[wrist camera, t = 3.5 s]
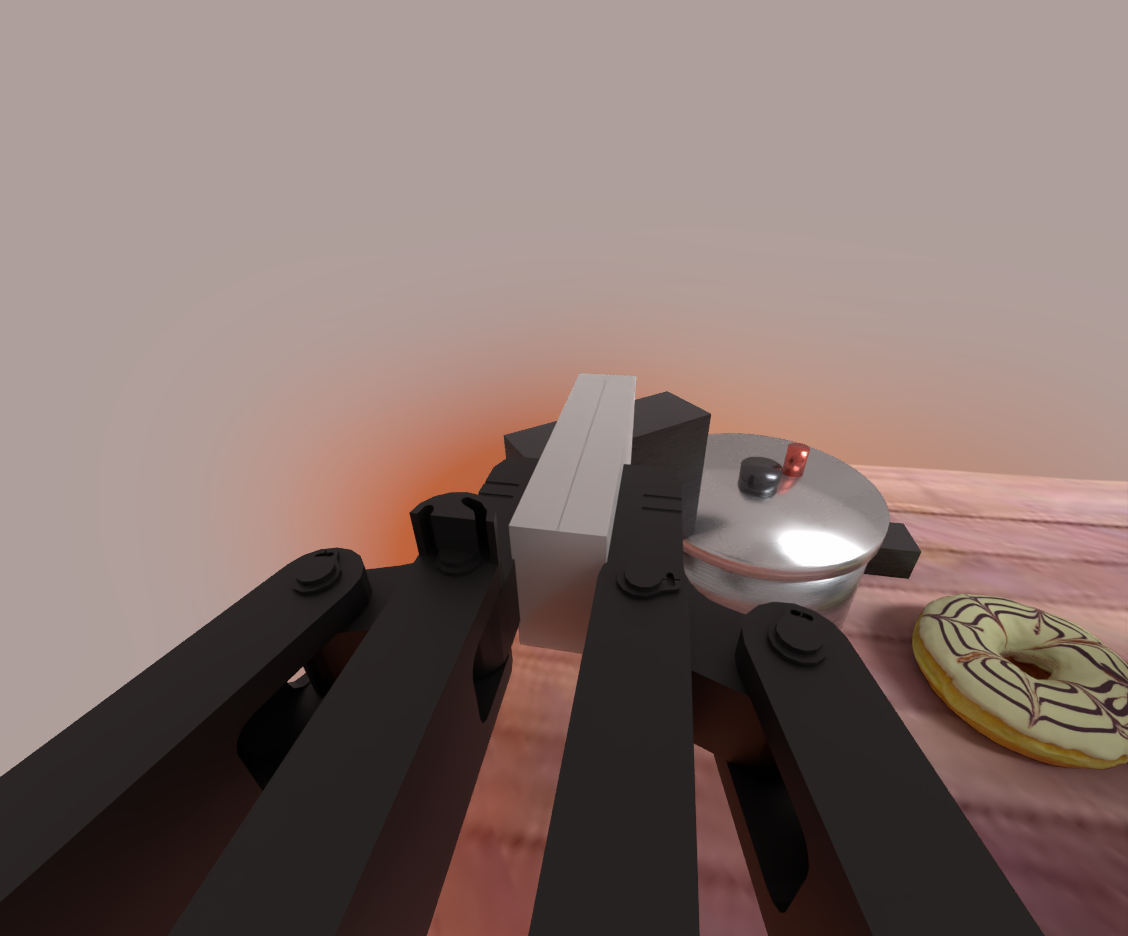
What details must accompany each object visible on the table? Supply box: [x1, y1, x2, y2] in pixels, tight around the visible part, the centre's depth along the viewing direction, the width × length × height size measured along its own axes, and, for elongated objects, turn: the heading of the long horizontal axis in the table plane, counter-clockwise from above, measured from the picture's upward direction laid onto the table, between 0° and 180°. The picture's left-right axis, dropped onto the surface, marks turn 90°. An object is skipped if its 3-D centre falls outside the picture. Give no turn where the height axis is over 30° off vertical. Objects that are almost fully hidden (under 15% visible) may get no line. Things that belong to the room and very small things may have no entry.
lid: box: [504, 392, 890, 582], centre depth 29 cm, size 25×16×9 cm, turn 119°
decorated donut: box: [912, 594, 1128, 769], centre depth 28 cm, size 10×11×4 cm
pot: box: [683, 522, 921, 630], centre depth 36 cm, size 26×15×7 cm, turn 79°
